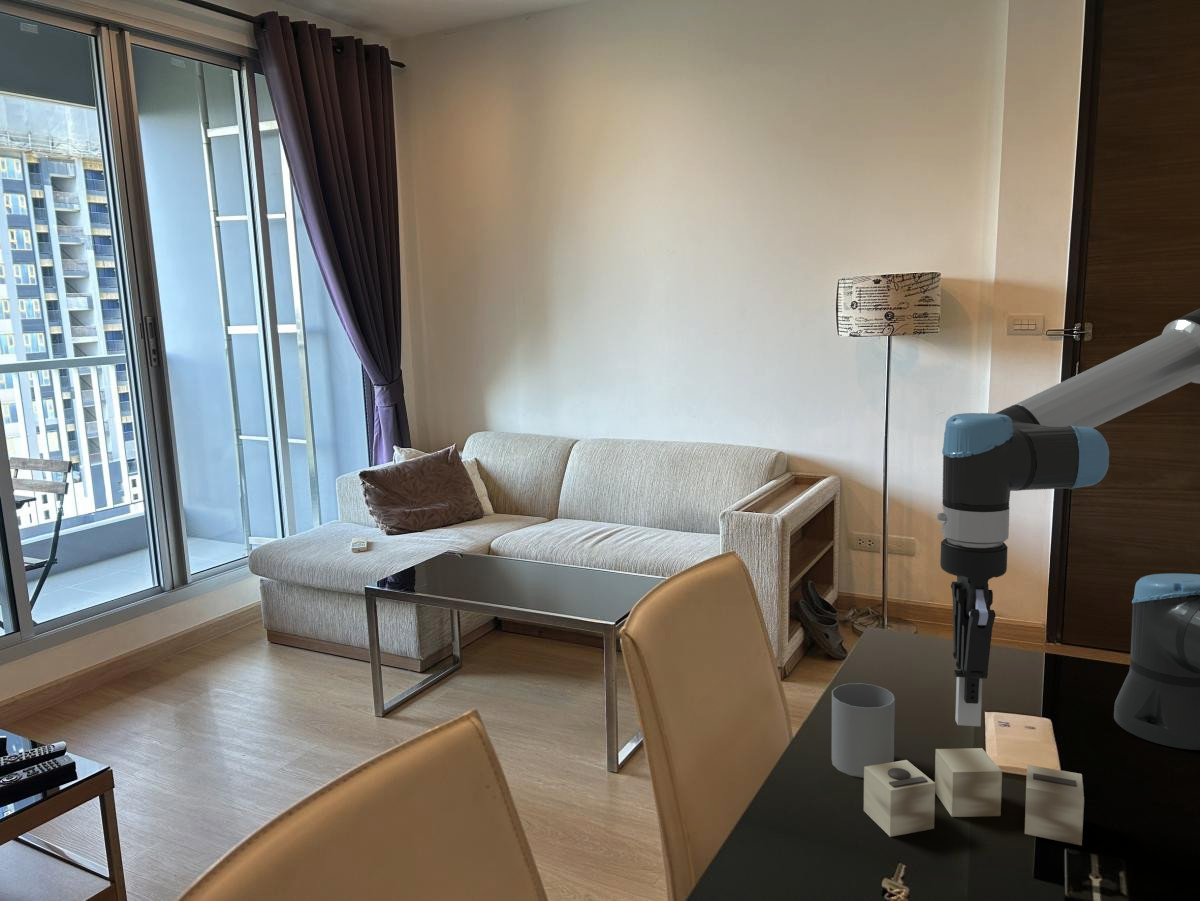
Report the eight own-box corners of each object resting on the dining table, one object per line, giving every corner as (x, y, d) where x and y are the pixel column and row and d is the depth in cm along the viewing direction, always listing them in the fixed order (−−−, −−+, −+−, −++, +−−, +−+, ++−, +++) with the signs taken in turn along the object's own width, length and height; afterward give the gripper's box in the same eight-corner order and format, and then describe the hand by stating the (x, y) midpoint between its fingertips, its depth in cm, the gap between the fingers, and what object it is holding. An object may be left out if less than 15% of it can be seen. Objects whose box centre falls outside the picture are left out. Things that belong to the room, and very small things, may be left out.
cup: (896, 780, 118) (897, 709, 117) (833, 776, 120) (833, 706, 119) (889, 750, 127) (890, 684, 125) (830, 747, 128) (830, 681, 127)
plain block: (980, 791, 115) (982, 748, 114) (1000, 816, 109) (1002, 771, 108) (934, 792, 115) (935, 749, 114) (951, 817, 109) (952, 772, 109)
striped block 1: (905, 803, 113) (906, 758, 112) (934, 829, 107) (935, 781, 106) (863, 811, 111) (864, 765, 110) (890, 837, 106) (890, 789, 105)
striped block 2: (1079, 819, 108) (1081, 772, 107) (1081, 846, 103) (1084, 796, 102) (1025, 809, 111) (1027, 763, 110) (1024, 834, 105) (1026, 786, 104)
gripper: (932, 527, 115) (927, 700, 118) (951, 553, 102) (946, 745, 105) (993, 528, 113) (987, 703, 116) (1021, 554, 100) (1013, 749, 104)
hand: (967, 723), depth 111 cm, fingers closed
